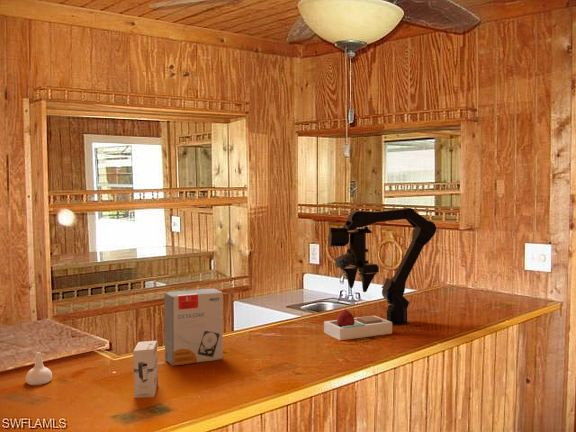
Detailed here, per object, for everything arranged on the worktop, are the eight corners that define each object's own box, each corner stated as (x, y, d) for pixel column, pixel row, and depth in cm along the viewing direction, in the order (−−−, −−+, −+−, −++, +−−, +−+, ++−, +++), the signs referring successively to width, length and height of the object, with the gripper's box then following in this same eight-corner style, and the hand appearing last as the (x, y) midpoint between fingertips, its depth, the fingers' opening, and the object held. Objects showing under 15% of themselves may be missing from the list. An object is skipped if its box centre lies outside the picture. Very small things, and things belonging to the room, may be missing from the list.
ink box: (139, 386, 155) (138, 340, 155) (158, 385, 156) (157, 339, 155) (133, 398, 147) (132, 350, 146) (154, 397, 147) (153, 349, 146)
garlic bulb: (42, 388, 156) (44, 358, 155) (20, 385, 157) (21, 354, 156) (56, 380, 162) (57, 351, 162) (34, 377, 163) (36, 348, 163)
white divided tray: (374, 326, 215) (374, 313, 215) (392, 333, 205) (392, 320, 205) (324, 332, 207) (323, 319, 207) (339, 340, 197) (339, 326, 197)
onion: (356, 330, 205) (356, 307, 204) (351, 335, 200) (351, 310, 199) (340, 329, 207) (340, 305, 207) (334, 333, 202) (334, 309, 201)
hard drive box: (172, 367, 171) (170, 296, 170) (164, 360, 178) (162, 292, 176) (224, 359, 178) (223, 291, 177) (214, 352, 185) (213, 287, 183)
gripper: (325, 244, 221) (325, 287, 222) (351, 250, 204) (351, 296, 205) (352, 243, 226) (352, 285, 227) (379, 248, 209) (379, 293, 210)
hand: (357, 289), depth 217 cm, fingers open, 9 cm apart
